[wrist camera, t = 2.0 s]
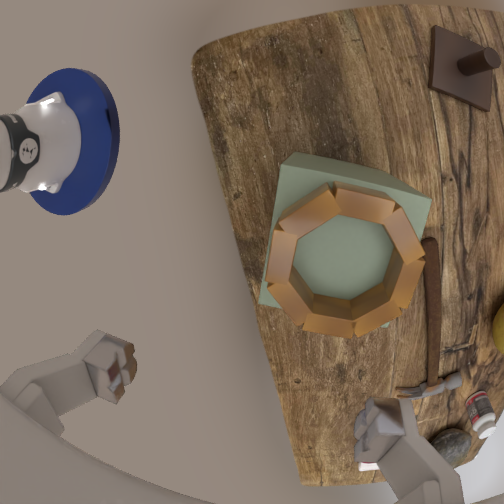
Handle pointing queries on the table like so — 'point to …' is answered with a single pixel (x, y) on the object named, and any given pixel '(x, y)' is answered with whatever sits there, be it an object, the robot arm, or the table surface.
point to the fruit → (499, 329)
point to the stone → (453, 445)
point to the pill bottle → (481, 414)
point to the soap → (367, 466)
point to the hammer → (432, 328)
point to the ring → (366, 304)
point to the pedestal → (341, 228)
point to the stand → (461, 68)
